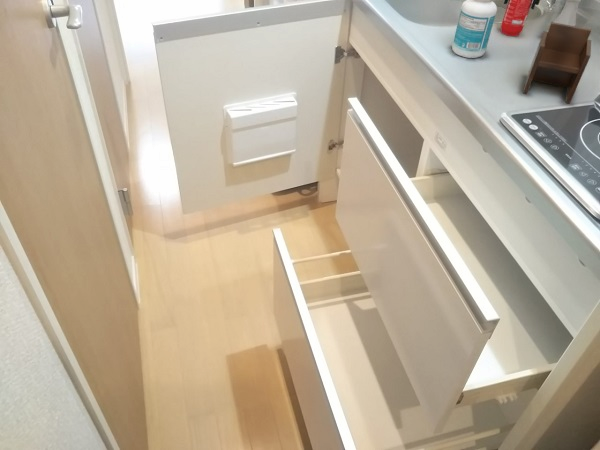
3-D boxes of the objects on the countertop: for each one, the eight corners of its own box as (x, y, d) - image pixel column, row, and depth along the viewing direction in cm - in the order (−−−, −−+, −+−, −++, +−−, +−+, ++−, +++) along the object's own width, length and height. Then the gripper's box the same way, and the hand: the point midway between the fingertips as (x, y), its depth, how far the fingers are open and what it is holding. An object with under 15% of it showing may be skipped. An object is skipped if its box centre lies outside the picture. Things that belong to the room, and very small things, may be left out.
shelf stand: (571, 86, 108) (595, 30, 100) (569, 104, 103) (595, 45, 95) (526, 77, 111) (547, 21, 102) (522, 93, 105) (544, 35, 97)
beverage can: (498, 34, 127) (514, -17, 119) (500, 27, 131) (515, -24, 122) (520, 38, 126) (537, -14, 118) (521, 30, 129) (538, -20, 121)
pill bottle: (469, 43, 122) (485, -17, 113) (491, 56, 118) (509, -6, 108) (444, 48, 120) (458, -13, 111) (465, 61, 115) (482, -1, 106)
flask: (580, 41, 126) (598, -1, 119) (562, 48, 123) (579, 4, 116) (554, 31, 130) (570, -11, 123) (536, 37, 127) (551, -6, 120)
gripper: (589, -79, 112) (557, 6, 124) (508, -90, 116) (485, -7, 129) (588, -72, 107) (555, 17, 119) (503, -84, 111) (480, 3, 123)
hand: (519, 4), depth 124 cm, fingers open, 5 cm apart
